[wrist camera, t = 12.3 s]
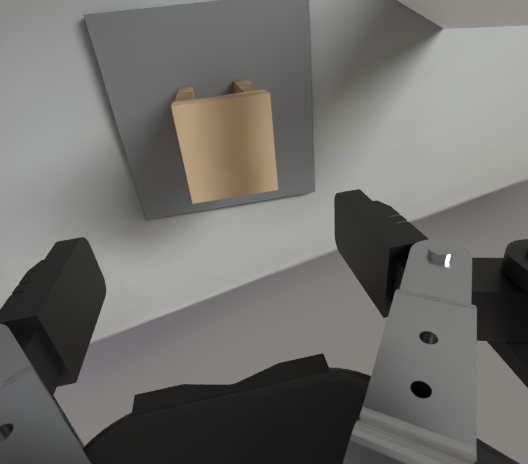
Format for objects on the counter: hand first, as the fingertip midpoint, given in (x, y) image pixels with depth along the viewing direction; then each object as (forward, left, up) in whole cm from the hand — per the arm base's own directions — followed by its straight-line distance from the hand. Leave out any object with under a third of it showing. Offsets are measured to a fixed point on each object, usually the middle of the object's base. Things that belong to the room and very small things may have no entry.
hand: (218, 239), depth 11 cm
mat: (+1, +1, -25) cm, 25 cm away
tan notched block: (+1, +1, -24) cm, 24 cm away
